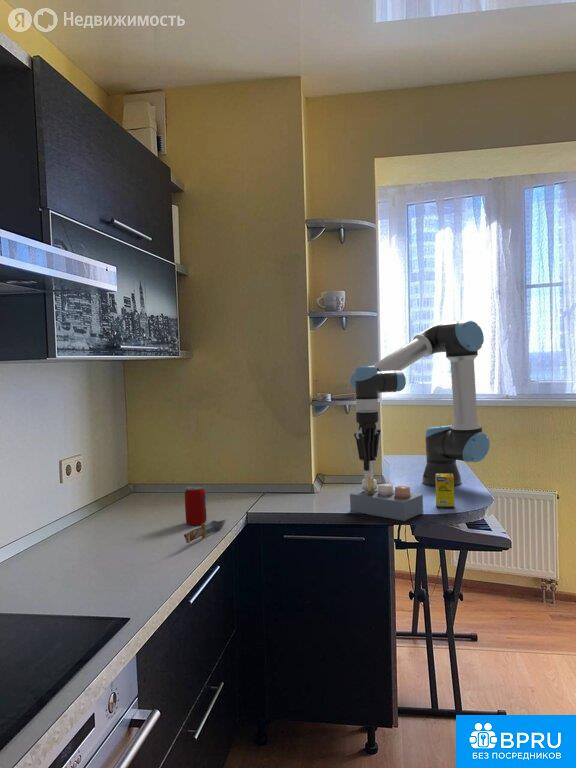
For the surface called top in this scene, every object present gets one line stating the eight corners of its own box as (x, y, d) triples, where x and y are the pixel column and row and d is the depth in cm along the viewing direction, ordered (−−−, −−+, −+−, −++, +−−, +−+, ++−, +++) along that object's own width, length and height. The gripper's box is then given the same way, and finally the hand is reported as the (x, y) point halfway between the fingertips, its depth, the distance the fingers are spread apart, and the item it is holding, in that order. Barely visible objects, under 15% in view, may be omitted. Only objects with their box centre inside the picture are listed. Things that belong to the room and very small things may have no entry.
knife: (225, 525, 187) (224, 510, 187) (229, 526, 186) (228, 510, 186) (183, 550, 164) (182, 533, 164) (187, 551, 164) (186, 533, 163)
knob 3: (400, 509, 195) (399, 485, 195) (413, 511, 192) (413, 487, 192) (392, 512, 192) (391, 488, 191) (405, 515, 188) (405, 490, 188)
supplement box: (454, 508, 197) (454, 476, 196) (436, 508, 198) (435, 476, 197) (453, 504, 202) (452, 473, 202) (435, 504, 204) (435, 473, 203)
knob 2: (383, 506, 200) (383, 483, 199) (396, 508, 196) (395, 484, 196) (375, 509, 196) (375, 485, 196) (388, 512, 193) (387, 487, 192)
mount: (370, 503, 208) (369, 487, 207) (423, 512, 194) (422, 494, 193) (350, 511, 199) (349, 493, 198) (404, 520, 185) (404, 502, 184)
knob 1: (368, 501, 204) (367, 477, 204) (380, 503, 201) (379, 479, 200) (359, 504, 200) (359, 480, 200) (372, 506, 197) (371, 482, 196)
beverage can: (211, 521, 192) (209, 485, 192) (197, 527, 186) (195, 490, 186) (195, 519, 196) (194, 484, 195) (181, 524, 190) (179, 488, 190)
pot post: (370, 494, 196) (369, 476, 196) (375, 495, 195) (374, 477, 195) (366, 495, 195) (366, 477, 195) (371, 496, 194) (371, 478, 193)
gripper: (368, 409, 206) (370, 475, 207) (346, 412, 197) (348, 481, 198) (386, 409, 201) (388, 477, 202) (365, 413, 192) (367, 484, 193)
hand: (368, 479), depth 200 cm, fingers closed
